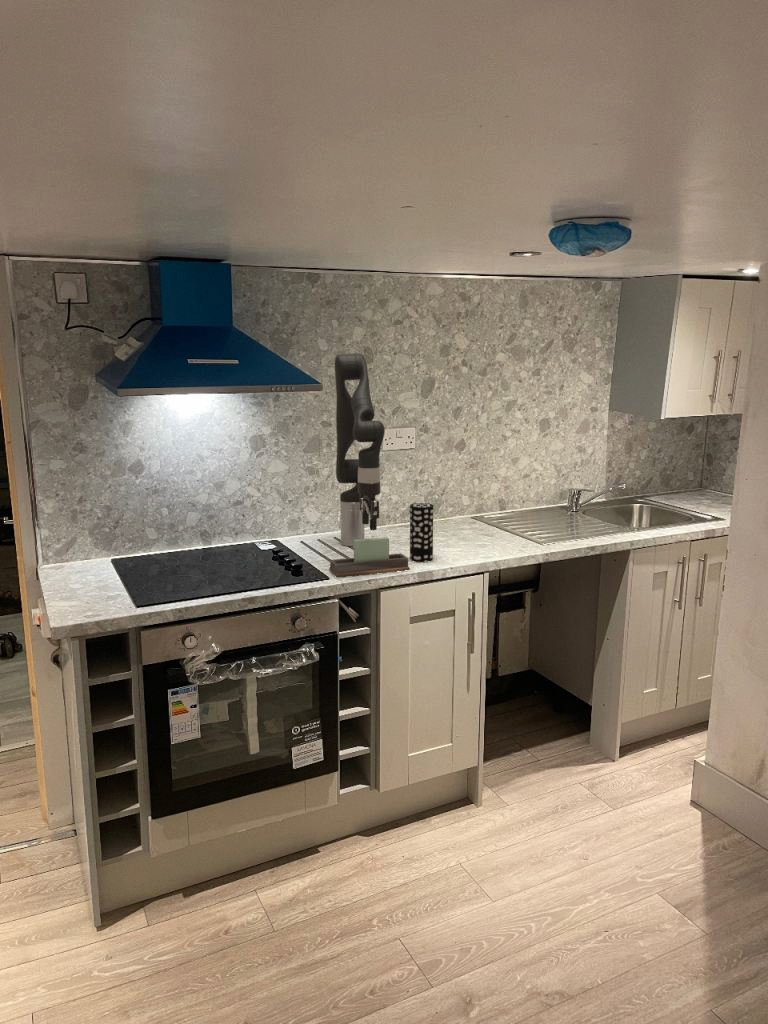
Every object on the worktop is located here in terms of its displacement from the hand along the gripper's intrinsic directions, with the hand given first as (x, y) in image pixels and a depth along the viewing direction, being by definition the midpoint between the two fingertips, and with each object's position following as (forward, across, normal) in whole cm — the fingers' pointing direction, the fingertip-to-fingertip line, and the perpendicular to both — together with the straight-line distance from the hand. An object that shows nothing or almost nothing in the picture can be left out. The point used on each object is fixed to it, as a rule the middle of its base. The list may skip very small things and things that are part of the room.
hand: (369, 526), depth 266 cm
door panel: (+14, 0, +1) cm, 14 cm away
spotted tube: (+16, -7, +22) cm, 28 cm away
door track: (+15, 0, 0) cm, 15 cm away
